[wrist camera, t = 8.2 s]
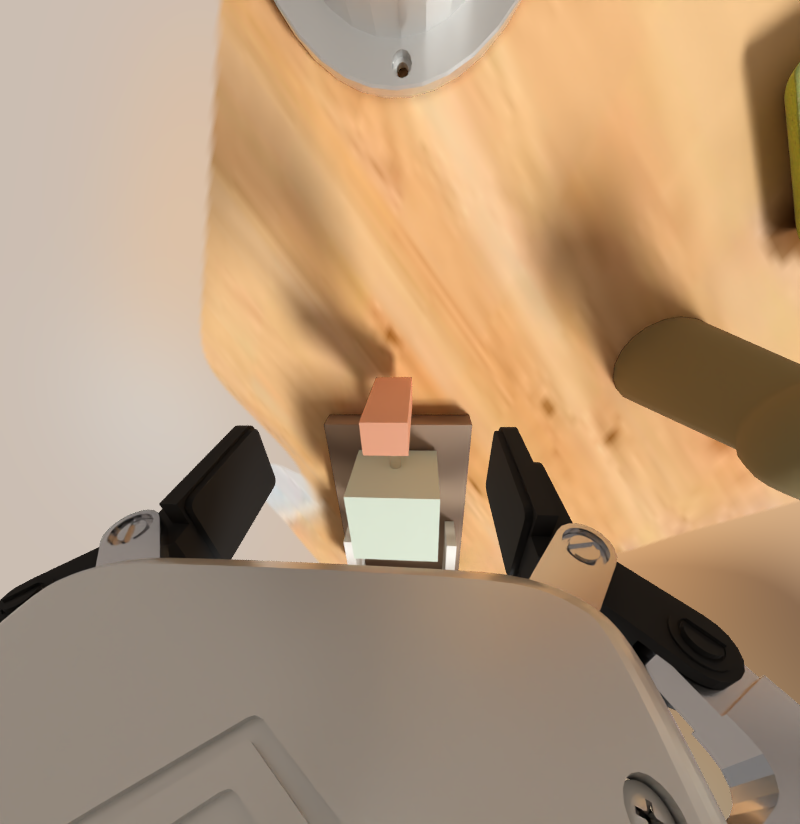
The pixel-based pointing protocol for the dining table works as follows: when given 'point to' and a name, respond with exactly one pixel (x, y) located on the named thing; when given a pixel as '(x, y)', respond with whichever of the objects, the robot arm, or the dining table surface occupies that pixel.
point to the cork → (720, 393)
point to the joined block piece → (392, 482)
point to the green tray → (794, 136)
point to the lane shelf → (452, 457)
